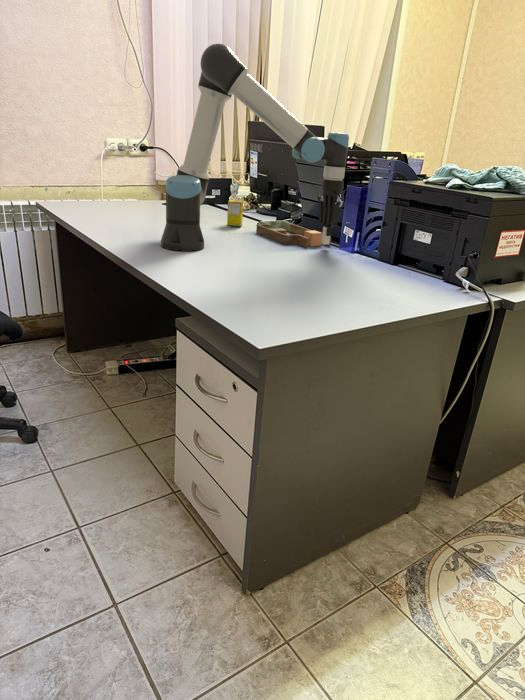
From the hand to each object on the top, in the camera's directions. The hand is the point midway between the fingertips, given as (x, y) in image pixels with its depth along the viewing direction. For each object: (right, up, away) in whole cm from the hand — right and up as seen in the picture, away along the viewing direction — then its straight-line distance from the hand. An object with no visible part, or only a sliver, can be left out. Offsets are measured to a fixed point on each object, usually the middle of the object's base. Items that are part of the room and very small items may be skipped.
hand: (325, 243), depth 191 cm
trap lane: (-14, +6, +15) cm, 21 cm away
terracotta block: (-4, +1, +7) cm, 8 cm away
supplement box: (-36, +14, +30) cm, 49 cm away
